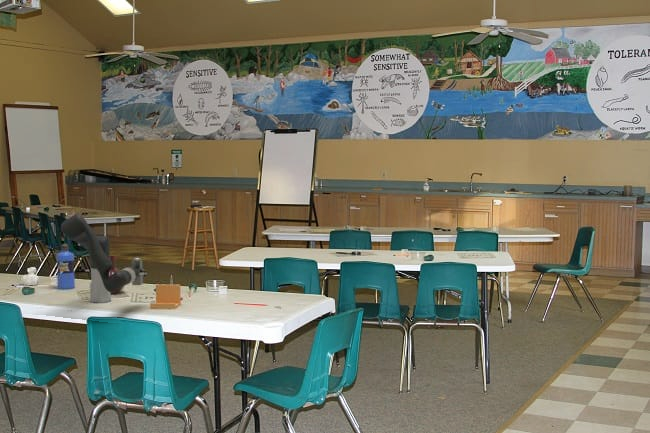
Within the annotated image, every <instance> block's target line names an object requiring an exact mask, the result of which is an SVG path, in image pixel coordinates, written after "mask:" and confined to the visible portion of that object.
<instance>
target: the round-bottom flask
mask: <svg viewBox="0 0 650 433" xmlns="http://www.w3.org/2000/svg"><path fill="white" fill-rule="evenodd" d="M110 261H111V262H112V264H113V268H112V269H111V270H110V276H111V275H112V274H113V273H115V272H116V271H118V270H119V269H118V268H116V255H110ZM124 288H125V286H122V287H121V288H119V289H118V290H117V291H116V292H114V293H113V294H117V293H120V292H121V291H122V290H123V289H124Z"/></svg>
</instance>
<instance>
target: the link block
mask: <svg viewBox="0 0 650 433" xmlns="http://www.w3.org/2000/svg"><path fill="white" fill-rule="evenodd" d="M131 267H134V268H135V269H142V268H143V259H141V258H140V257H134V258H133V260H131ZM143 278H144V276H143V275H141V276H138V278H137V279H136V280H135V281H134V282H132V283H131V284H132V286H142V285H143V284H144V279H143Z"/></svg>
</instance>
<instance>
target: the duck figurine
mask: <svg viewBox="0 0 650 433" xmlns="http://www.w3.org/2000/svg"><path fill="white" fill-rule="evenodd" d="M26 271H27V272H28V273H27V274H24V275H22V276H21V279H20V280H21V281H20V283H21V284H22V285H23V284H25V285H26V286H29V285H33V286H36V285H37V284H38V283H39V280H40V278H39V276H38V275H36V274H35V273H37V268H36V267H35V266H33V267H32V266H30V267H29V268H28V267H27V270H26ZM25 285H24V286H25Z"/></svg>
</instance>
